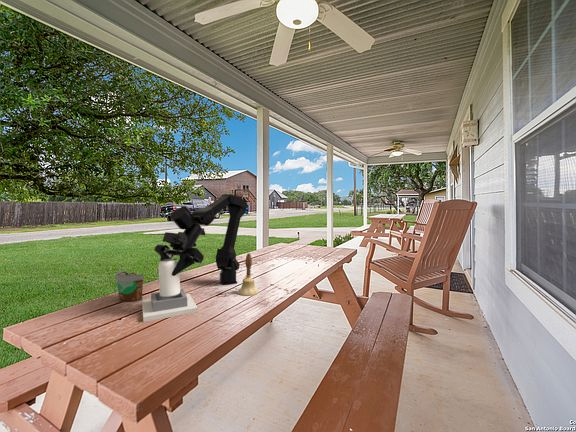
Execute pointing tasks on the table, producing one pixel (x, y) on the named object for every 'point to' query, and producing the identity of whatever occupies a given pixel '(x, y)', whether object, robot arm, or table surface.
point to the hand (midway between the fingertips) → (165, 274)
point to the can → (168, 278)
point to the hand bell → (248, 280)
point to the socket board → (167, 306)
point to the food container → (129, 286)
